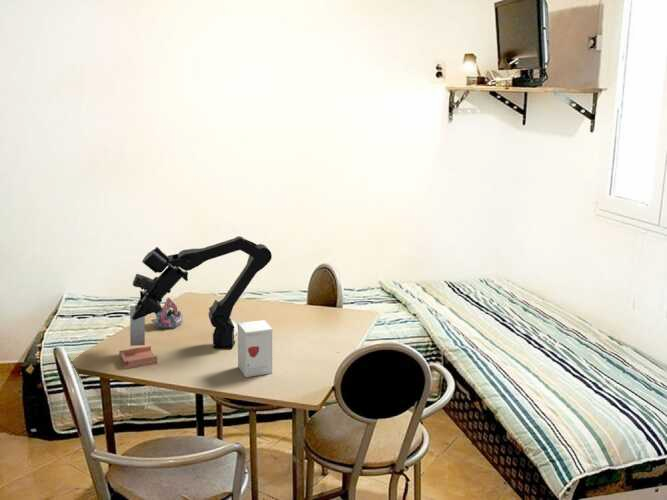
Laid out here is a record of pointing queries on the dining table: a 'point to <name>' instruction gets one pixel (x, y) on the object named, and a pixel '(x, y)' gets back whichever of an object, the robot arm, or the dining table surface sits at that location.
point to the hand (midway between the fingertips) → (133, 316)
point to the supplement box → (255, 348)
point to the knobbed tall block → (136, 328)
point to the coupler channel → (137, 357)
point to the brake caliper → (168, 316)
